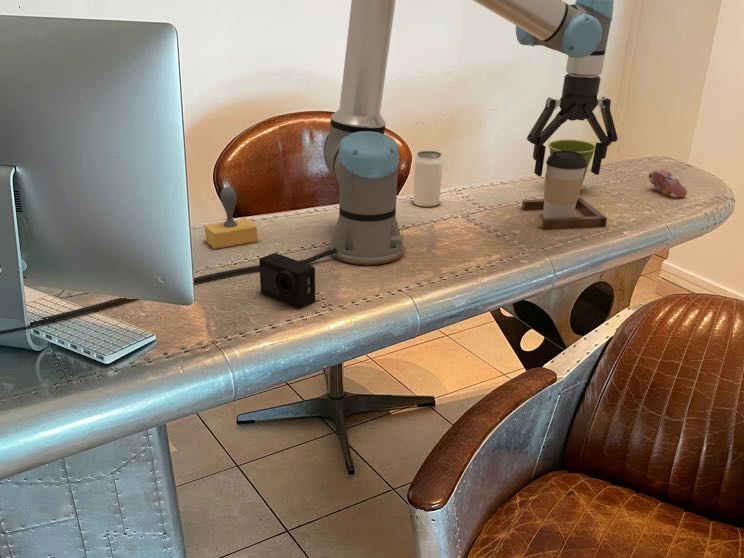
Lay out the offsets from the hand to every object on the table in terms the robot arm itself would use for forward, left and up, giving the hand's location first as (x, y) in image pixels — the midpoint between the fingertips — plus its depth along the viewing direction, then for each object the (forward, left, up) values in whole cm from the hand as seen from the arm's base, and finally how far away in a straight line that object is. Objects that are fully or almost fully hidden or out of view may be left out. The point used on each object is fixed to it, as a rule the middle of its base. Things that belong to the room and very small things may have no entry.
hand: (566, 174), depth 184 cm
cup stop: (0, 0, -10) cm, 10 cm away
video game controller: (+33, +14, -10) cm, 38 cm away
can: (-29, +14, -10) cm, 34 cm away
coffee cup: (0, 0, -10) cm, 10 cm away
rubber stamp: (-77, -6, -10) cm, 78 cm away
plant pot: (+9, +20, -10) cm, 24 cm away
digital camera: (-68, -37, -10) cm, 78 cm away
